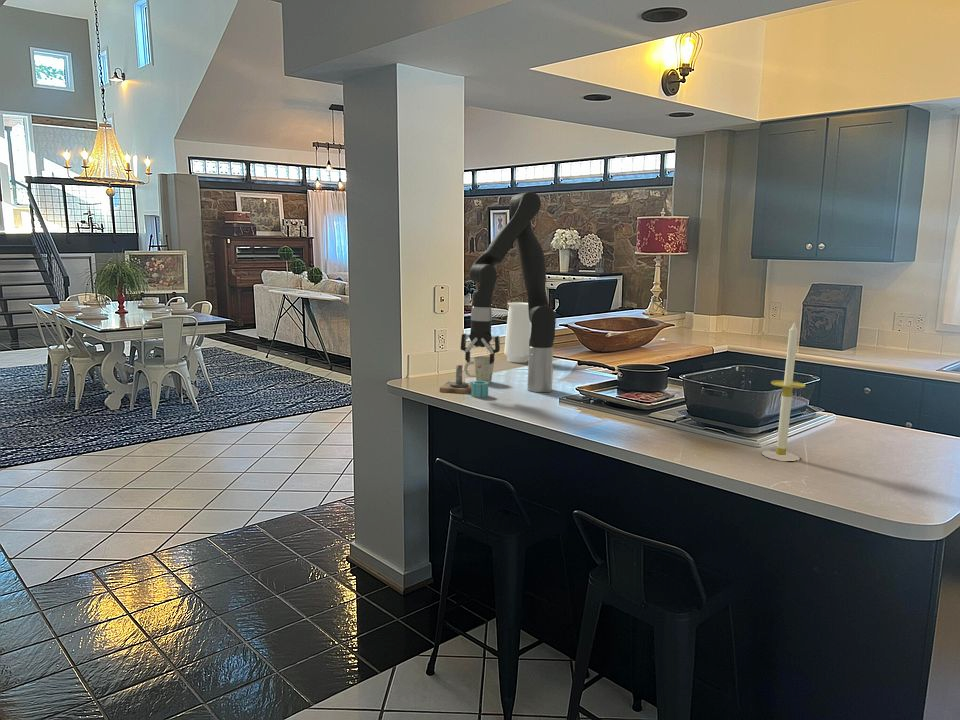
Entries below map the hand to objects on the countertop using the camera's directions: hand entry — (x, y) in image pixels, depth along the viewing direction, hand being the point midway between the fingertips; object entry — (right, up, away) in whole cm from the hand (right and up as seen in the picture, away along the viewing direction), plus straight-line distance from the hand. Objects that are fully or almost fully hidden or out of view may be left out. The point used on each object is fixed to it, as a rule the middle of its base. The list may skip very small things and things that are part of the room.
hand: (479, 362), depth 247 cm
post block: (-8, -10, +12) cm, 18 cm away
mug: (0, -8, +27) cm, 28 cm away
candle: (+83, -26, -63) cm, 107 cm away
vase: (+18, 0, +79) cm, 81 cm away
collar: (0, -12, +2) cm, 12 cm away
